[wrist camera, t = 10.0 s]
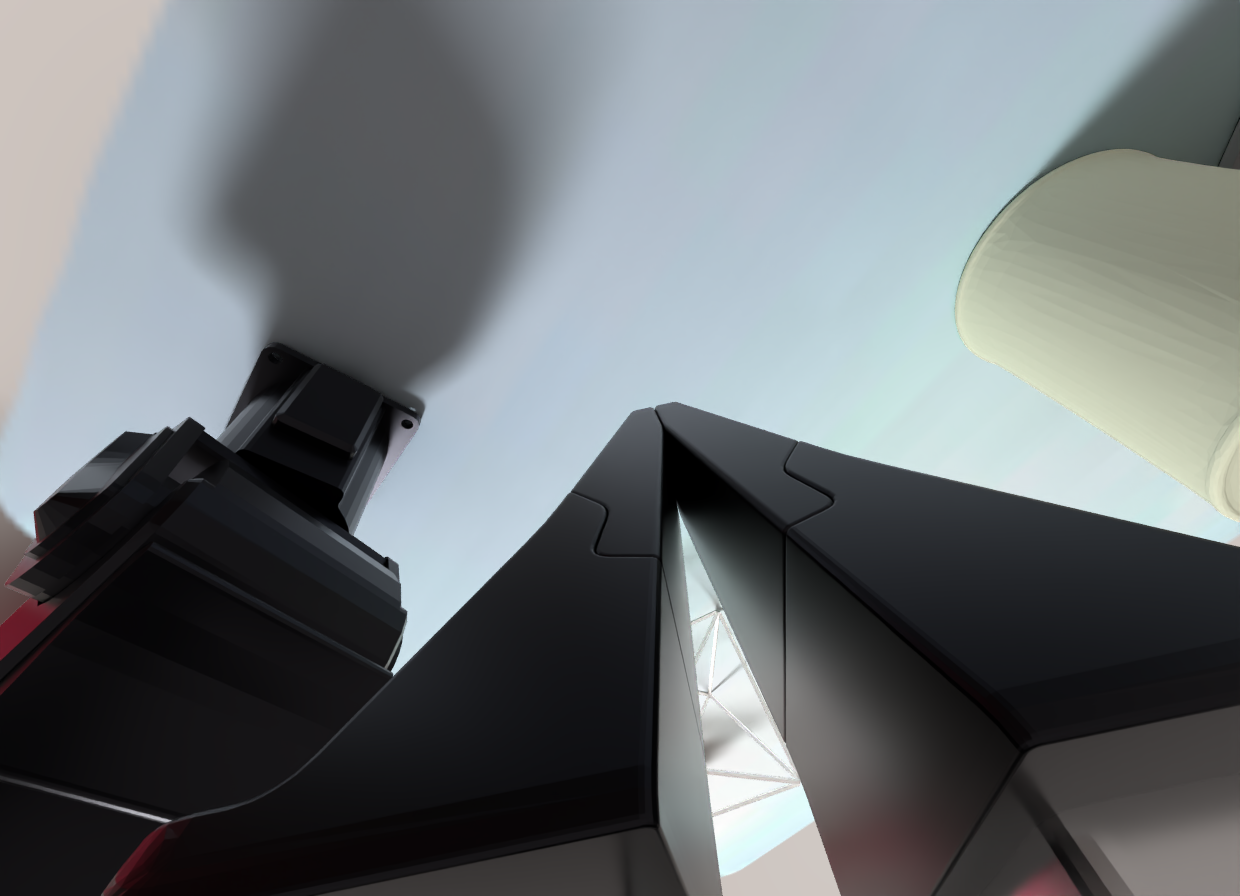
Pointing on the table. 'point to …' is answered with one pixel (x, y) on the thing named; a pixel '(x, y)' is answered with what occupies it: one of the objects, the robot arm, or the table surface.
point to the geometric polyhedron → (793, 782)
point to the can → (1123, 307)
